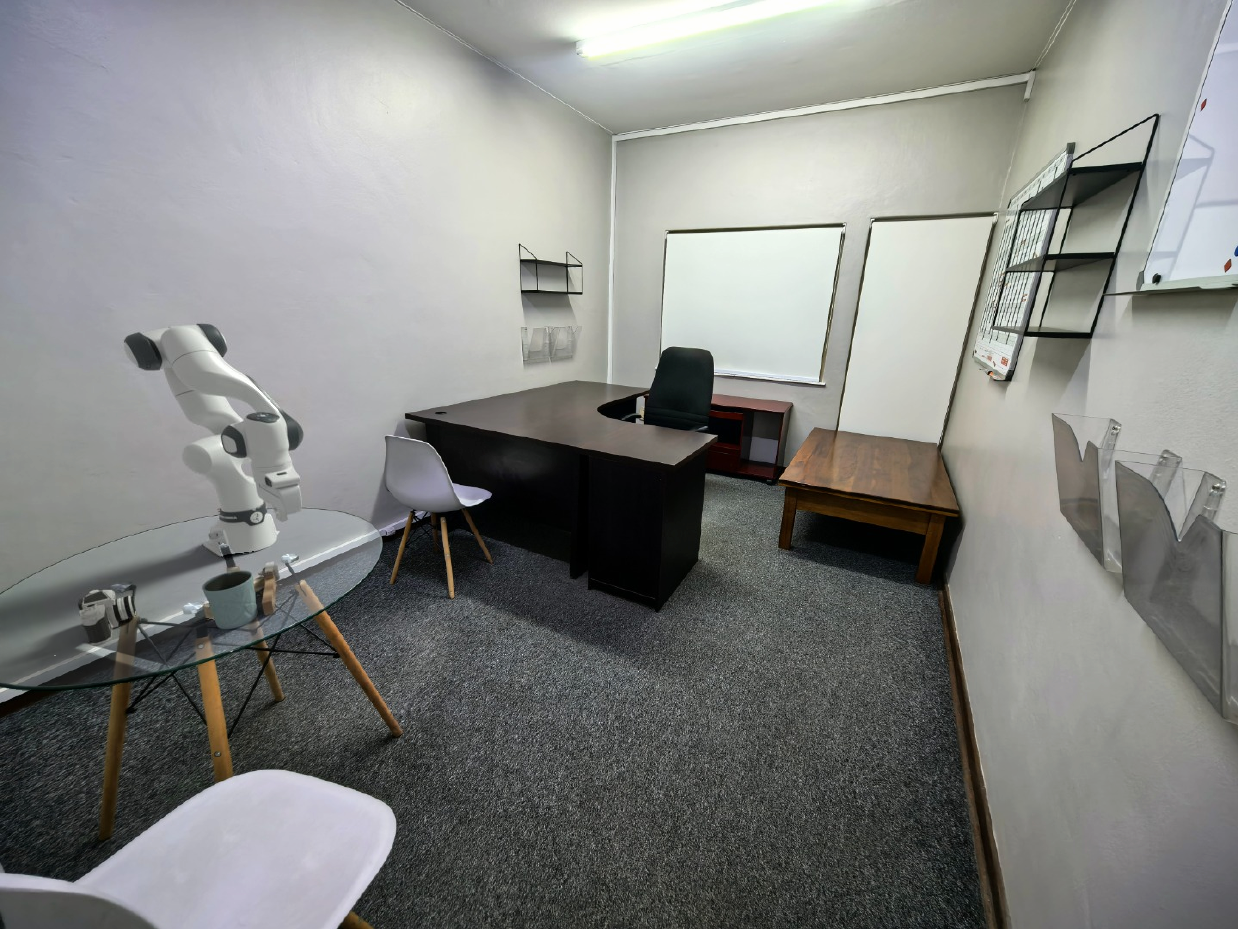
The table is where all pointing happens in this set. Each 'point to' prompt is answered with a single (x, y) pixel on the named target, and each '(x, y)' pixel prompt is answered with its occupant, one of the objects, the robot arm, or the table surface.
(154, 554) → the table surface
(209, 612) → the base
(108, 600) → the camera
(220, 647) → the table surface
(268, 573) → the tongs jaw
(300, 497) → the robot arm
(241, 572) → the green ceramic pot
